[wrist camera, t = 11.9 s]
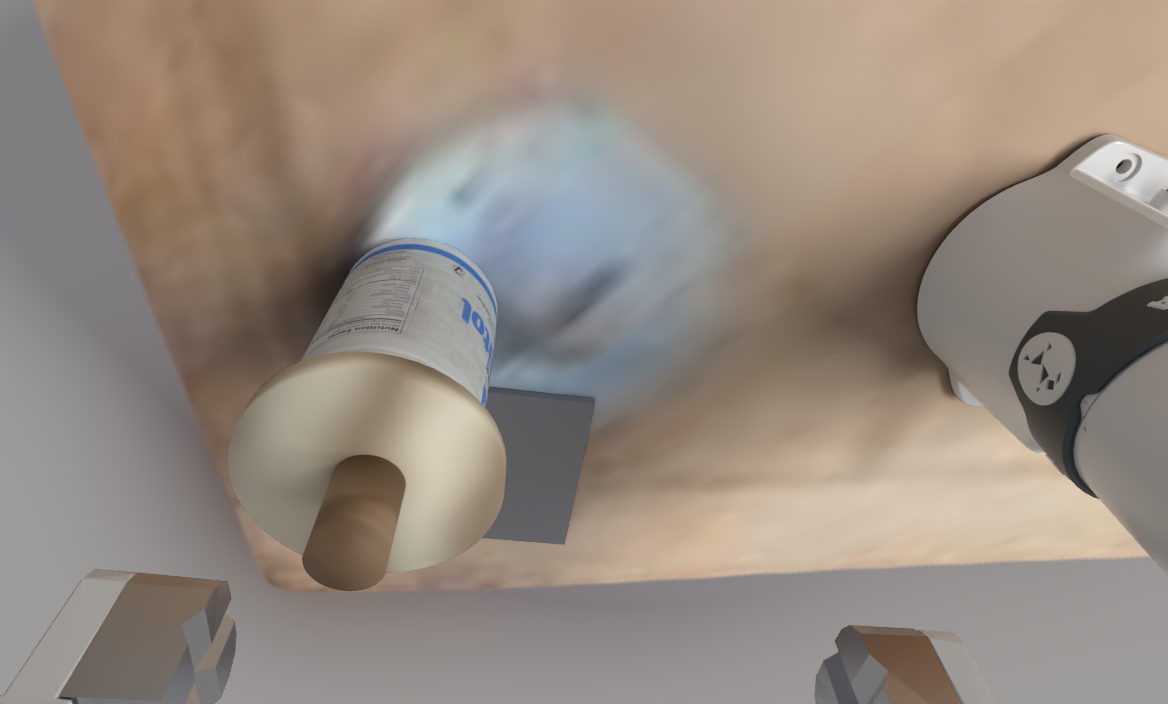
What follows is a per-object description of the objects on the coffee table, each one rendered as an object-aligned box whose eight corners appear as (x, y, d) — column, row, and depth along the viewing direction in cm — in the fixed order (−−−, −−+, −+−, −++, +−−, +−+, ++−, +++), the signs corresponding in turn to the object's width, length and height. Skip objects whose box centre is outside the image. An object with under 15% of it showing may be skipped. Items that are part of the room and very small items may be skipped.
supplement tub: (520, 341, 47) (510, 503, 35) (388, 382, 49) (334, 551, 36) (460, 209, 42) (424, 344, 30) (314, 258, 44) (222, 407, 31)
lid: (522, 370, 31) (517, 465, 26) (491, 560, 37) (482, 666, 32) (228, 333, 29) (161, 427, 24) (248, 538, 36) (199, 646, 31)
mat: (594, 398, 50) (594, 403, 50) (564, 538, 58) (564, 544, 57) (388, 376, 48) (386, 381, 48) (384, 523, 56) (383, 529, 55)
